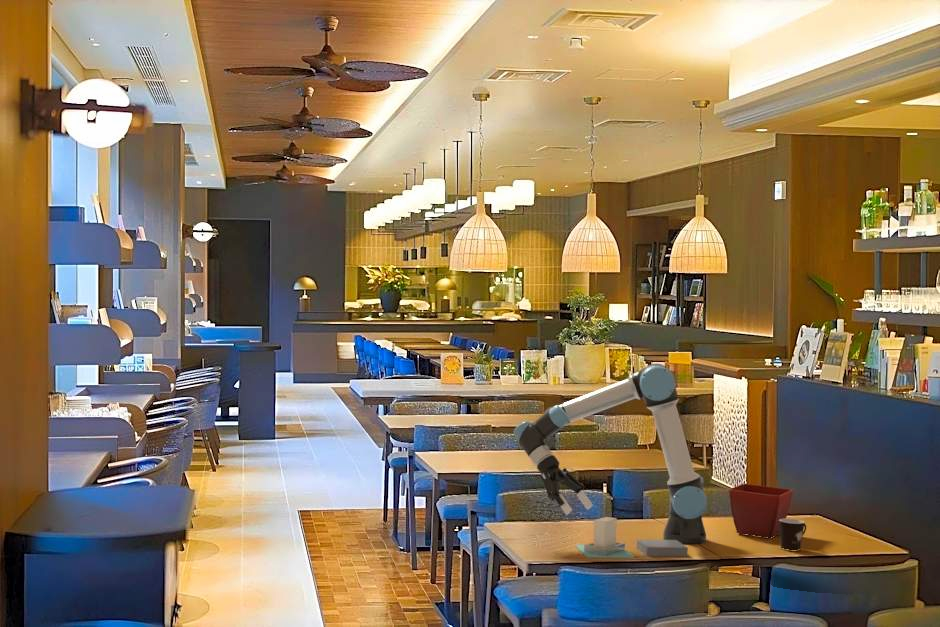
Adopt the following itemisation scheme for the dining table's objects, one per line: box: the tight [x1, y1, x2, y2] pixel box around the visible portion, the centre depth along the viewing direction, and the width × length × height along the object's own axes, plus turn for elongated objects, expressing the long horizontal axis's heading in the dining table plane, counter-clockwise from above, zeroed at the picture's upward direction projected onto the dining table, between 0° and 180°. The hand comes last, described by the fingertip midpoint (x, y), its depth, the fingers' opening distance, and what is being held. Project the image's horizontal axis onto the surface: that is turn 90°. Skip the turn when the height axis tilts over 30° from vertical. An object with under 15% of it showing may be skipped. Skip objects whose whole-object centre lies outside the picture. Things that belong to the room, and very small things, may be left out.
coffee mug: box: [779, 518, 807, 550], centre depth 419 cm, size 12×9×10 cm
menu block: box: [592, 516, 618, 548], centre depth 403 cm, size 4×8×10 cm, turn 143°
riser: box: [636, 539, 689, 557], centre depth 406 cm, size 12×14×3 cm
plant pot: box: [728, 483, 794, 538], centre depth 443 cm, size 19×19×17 cm
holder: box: [583, 541, 626, 556], centre depth 403 cm, size 8×12×2 cm
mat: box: [574, 544, 636, 559], centre depth 403 cm, size 18×16×1 cm
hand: (580, 510), depth 409 cm, fingers open, 13 cm apart
